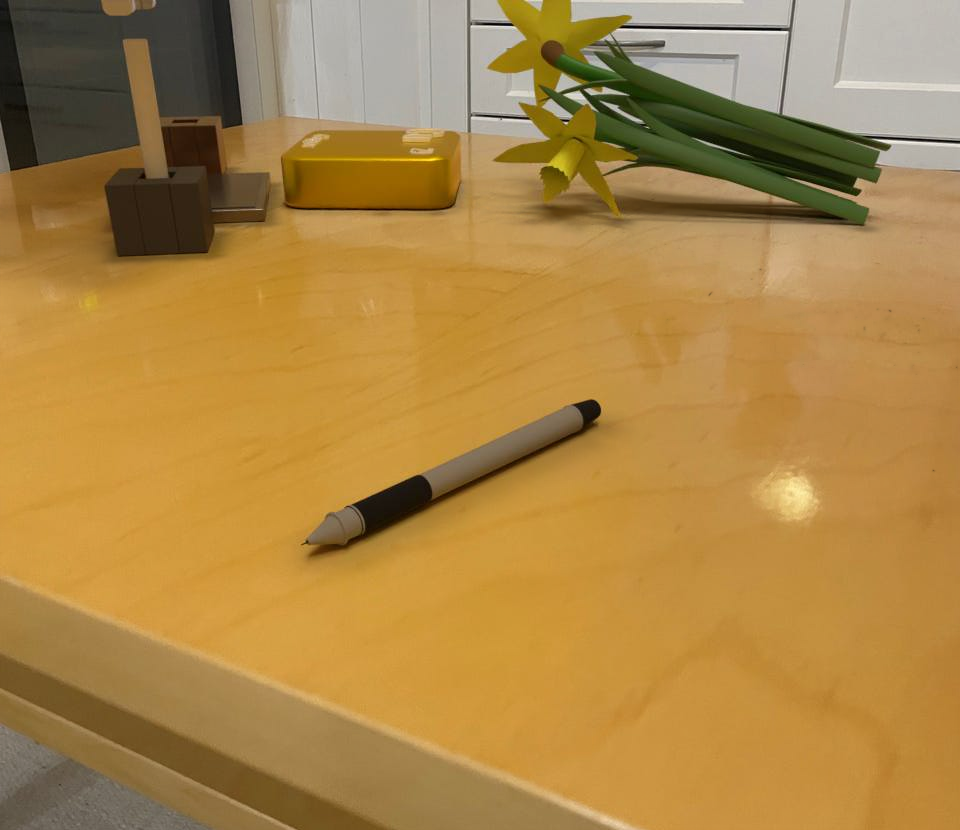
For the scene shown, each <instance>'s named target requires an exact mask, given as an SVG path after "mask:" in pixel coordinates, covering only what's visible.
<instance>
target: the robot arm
mask: <svg viewBox="0 0 960 830" xmlns="http://www.w3.org/2000/svg"><path fill="white" fill-rule="evenodd" d="M100 1H101V2H100V3H101V6H102V10H103V11H104V14H106V15H108V16H110V17H113V16H115V17H119V16H130V15H132V14H134V13H135V11H136V10H137V11H138V10H152V9H154V8H155V7H156V4H157V0H100Z"/></svg>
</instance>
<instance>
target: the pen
mask: <svg viewBox="0 0 960 830" xmlns="http://www.w3.org/2000/svg"><path fill="white" fill-rule="evenodd" d="M601 414H602V408H601V404H600V403H599V402H598V401H597V400H596V399H592V398H591V399H590V398H589V399H586V400H583V401H579V402H574V403H572V404H566V405H565V406H563V407H562V408H560V409H558V410H556V411H554V412H551V413H549V414H547V415H544V416H542V417H541V418H538V419H536V420H533V421H531V422H530V423H528V424H526V425H523V426H521V427H519V428H517V429H513V430H512V431H510V432H508V433H506V434H503V435H502V436H500V437H498V438H495V439H493V440H491V441H489V442H486V443H485V444H482V445H480V446H478V447H475V448H474V449H471V450H469V451H467V452H464V453H463V454H460V455H459V456H455V457H454V458H452V459H450V460H447V461H445V462H443V463H441V464H438V465H437V466H434V467H433V468H430V469H428V470H426V471H424V472H422V473H419V474H416V475H413V476H411V477H409V478H407V479H405V480H402V481H400V482H398V483H395V484H393V485H391V486H388V487H386V488H385V489H382V490H380V491H378V492H376V493H373V494H372V495H369V496H366V497H365V498H363V499H360V500H358V501H356V502H353V503H351V504H348V505H345V506H344V507H343V508H342V509H340V510H338V511H329V512H327V514H325V516H324V519H323V520H322V522H321V523H320V524H319V525H318V526H316V528H315V529H314V530H313V531H312V532H311V533H310V534H309V535H308V536H307V537H306V539H305V542H303V543H301V544H300V546H304V545H308V546H318V545H334V544H336V545H338V546H345V545H346V544H347V543H348V541H349V540H351V539H354V538H355V537H361V536H362V535H363V534H365V533H367V532H369V531H371V530H374V529H376V528H378V527H380V526H383V525H384V524H386V523H388V522H390V521H392V520H395V519H397V518H398V517H400V516H402V515H404V514H407V513H409V512H411V511H413V510H415V509H417V508H419V507H421V506H423V505H426V504H428V503H429V502H431V501H432V500H434V499H437V498H438V497H440V496H443V495H445V494H447V493H449V492H451V491H453V490H456V489H457V488H460V487H462V486H464V485H466V484H468V483H470V482H473V481H475V480H477V479H479V478H481V477H483V476H485V475H487V474H489V473H491V472H493V471H497V470H498V469H500V468H502V467H504V466H506V465H508V464H511V463H512V462H515V461H517V460H519V459H521V458H523V457H526V456H528V455H530V454H531V453H534V452H536V451H538V450H540V449H543V448H545V447H546V446H549V445H551V444H553V443H556V442H557V441H560V440H561V439H564V438H566V437H567V436H570V435H572V434H575V433H579V432H580V431H581V430H582V429H584V428H586V427H587V426H588V425H590V424H591V423H592V422H594V421H595V420H597V419H598V418H599V417H600V416H601Z"/></svg>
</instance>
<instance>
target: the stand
mask: <svg viewBox="0 0 960 830" xmlns="http://www.w3.org/2000/svg"><path fill="white" fill-rule="evenodd" d="M159 118H160V125H161V131H162V137H163V144H164V150H165V156H166V163H167V167H188V166H205V167H206V172H207V174H226V170H227V168H228V165H227V164H228V162H227V155H226V147H225V139H224V132H223V123H222V117H221V115H206V116H205V115H204V116H196V115H195V116H162V117H161V116H159Z"/></svg>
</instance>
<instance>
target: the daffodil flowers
mask: <svg viewBox="0 0 960 830" xmlns="http://www.w3.org/2000/svg"><path fill="white" fill-rule="evenodd" d="M496 1H497V4H498V6H499V8H500V9H501V11H502V12H503V14H504V15H505V17H506V18H507V20H508V21H509V22H510V23H511V24H512V26H514V27H515V28H516V29H517V30H518V31H519V32H520V33H521V35H522V36H523V37H524V38H525V39H524V40H521V41H519V42H517V43H516V44H514V46H512V47H510V48H509V49H507V50H506V51H504V52H502V54H500V55H498V56H497V57H496V58H495V59H494V60H493V61H492V62H490V64H488V66H487V68H486V69H487V70H490V71H493V72H497V73H502V74H518V73H523V72H526V71H530V70H532V71H533V72H532V73H533V90H534V91H533V92H534V98H535V104H536V105H535V104H529V103H525V102H522V101H521V102H520V101H517V102H518V106H519V107H520V108H521V110H522V111H523V112H524V114H525V115H526V117H528V118H529V120H530V121H531V122H532V124H534V125H535V127H536V128H537V129H538V130H539V131H540V132H541V134H543V136H544V137H546V138H548V139H547V140H546V139H545V140H543V141H535V142H528V143H522V144H521V143H520V144H518V145H516V146H513V147H510V148H508V149H506V150H505V151H504V152H502V153H500V154H499V155H498V156H496V157H495V158H494V159H492V162H494V163H501V164H503V163H505V164H545V165H543V167H541V168H540V169H539V171H540V172H539V173H538V175H540V177H539V180H540V181H543V182H542V185H543V186H544V187H543V190H542V202H543V204H547V203H549V202H550V201H551V200H552V199H554V198H556V196H558V195H559V194H561V193H563V192H564V193H566V192H567V191H569V189H570V186H571V183H572V181H573V180H574V179H575V178H576V177H577V175H578V174H579V175H580V176H581V178H582V179H583V180H584V181H585V183H586V184H587V185H588V186H589V187H590V188H591V189H592V190H593V191H594V192H595V194H597V195H598V196H599V197H600V199H602V200H603V201H604V202H605V203H606V204H607V205H608V206H609V208H610V210H611V212H612V213H613V215H614V216H616V217H617V219H620V220H622V216H621V213H620V211H619V208H618V206H617V203H616V200H615V198H614V196H613V194H612V191H611V189H610V187H609V185H608V183H607V181H606V179H605V177H606V176H609V175H612V174H615V173H618V172H622V171H625V170H629V169H636V168H644V167H646V168H647V167H648V168H651V167H654V168H662V169H663V168H664V169H669V170H675V171H681V172H683V173H684V172H685V173H690V174H695V175H699V176H703V177H708V178H714V179H718V180H721V181H722V180H723V181H727V182H730V183H732V184H736V185H739V186H742V187H745V188H748V189H752V190H754V191H758V192H760V193H763V194H767V195H771V196H774V197H776V198H779V199H783V200H786V201H789V202H792V203H796V204H798V205H801V206H804V207H808V208H811V209H814V210H817V211H821V212H823V213H826V214H828V215H829V214H830V215H833V216H835V217H838V218H842V219H845V220H849V221H851V222H854V223H857V224H860V225H862V226H864V225H865V223H866V221H867V218H868V215H869V212H870V207H867V206H864V205H861V204H858V203H857V201H853V200H852V199H849V198H846V197H843V196H839V195H837V194H834V193H831V192H828V191H826V190H823V189H820V188H817V187H815V186H811V185H808V184H805V183H809V184H812V185H816V186H819V187H822V188H825V189H829V190H833V191H837V192H840V193H843V194H847V195H850V196H853V197H858V196H859V195H860V194H861V193H862V191H863V189H861V188H857V187H855V184H856V183H857V180H858V179H860V180H863V181H866V182H869V183H873V184H877V183H878V181H879V179H880V176H881V174H882V172H883V168H882V167H879V166H878V167H877V166H876V164H877V162H878V159H879V157H880V154H881V151H883V152H887V151H889V150H890V149H891V148H892V144H890V143H887V142H883V141H881V140H876V139H872V138H869V137H865V136H862V135H859V134H857V133H852V132H849V131H846V130H845V131H844V130H842V129H838V128H835V127H831V126H828V125H825V124H821V123H816V122H813V121H809V120H805V119H801V118H797V117H794V116H790V115H786V114H783V113H782V114H781V113H778V112H774V111H770V110H765V109H763V108H759V107H754V106H750V105H746V104H743V103H740V102H738V101H735V100H732V99H729V98H726V97H723V96H720V95H718V94H715V93H713V92H709V91H707V90H704V89H702V88H699V87H695V86H694V85H690V84H689V83H685V82H683V81H680V80H677V79H675V78H672V77H670V76H667V75H665V74H661V73H659V72H656V71H654V70H651V69H648V68H645V67H643V66H640V65H637V64H635V63H634V62H633V61H632V59H631V58H630V57H629V56H628V55H627V53H626V52H625V51H624V50H623V48H622V47H621V44H619V42H618V40H617V39H616V38H615V36H614V35H613V34H612V33H614V32H615V31H616V30H618V29H619V28H621V27H622V26H624V25H625V24H627V23H628V22H630V21H632V19H633V16H632V15H630V14H621V15H620V14H619V15H615V16H601V17H594V18H587V19H581V20H576V21H573V22H572V18H573V17H572V16H573V14H572V0H542V3H541V7H540V9H538V8H536V7H535V6H534V5H532V4H531V3H529V2H528V1H526V0H496ZM609 35H610V36H611V38H612V40H613V42H614V43H615V45H616V46H617V48H618V49H617V48H616V47H615V45H613V44H612V43H611V42H610V41H608V40H607V39H606V37H607V36H609ZM600 40H604V42H605V43H606V46H607V47H608V49H609V50H610V51H611V53H612V54H613V55H610V54H608V53H605V52H602V51H596V50H594V51H593V54H594V55H595V56H596V57H597V58H598V59H599V60H600V61H601V62H602V63H603V64H604V65H605V66H607V67H608V68H609V69H610V70H609V69H606V68H602V67H600V66H597V65H593V64H590V62H589V61H588V59H587V58H586V56H585V55H584V53H583V52H582V51H581V50H583V49H585V48H587V47H589V46H591V45H592V44H594V43H597V42H598V41H600ZM562 74H563V75H565V76H566V77H568V78H570V79H571V80H573V81H574V82H576V83H577V84H579V85H574V86H572V87H568V88H565V89H563V90H561V91H559V92H558V91H556V89H557V87H558V84H559V81H560V79H561V77H562ZM603 88H606V89H610V90H613V91H615V92H618V94H617V93H615V94H614V93H603ZM589 89H591V90H593V91H595V92H598V93H596V94H590V93H589V92H588V91H586V90H589ZM575 92H579V93H580V94H581V95H582V96H583V98H585V100H586V101H587V102H588V103H585V104H582V103H580V102H578V101H576V100H574V99H572V98H570V97H568V96H567V95H566V94H570V93H571V94H572V93H575ZM619 93H622V94H619ZM550 100H552V101H553V102H554V103H555V104H556V105H558V106H559V107H560V108H561V109H563V110H564V111H566V112H567V113H569V114H570V115H571V118H570V119H569V120H568V122H567V123H565V122H564V121H563V120H561V118H560V117H558V116H557V115H556V114H554V113H553V112H552V111H550V110H548V109H546V108H543V106H545V105H546V104H547V103H548V101H550ZM605 103H606V104H609V105H613V106H617V109H618V110H619V111H621V112H623V113H625V114H627V115H628V116H631V117H633V118H635V119H638V120H639V121H641V122H642V123H644V125H645V126H644V125H642V124H641V123H639V122H637V121H635V120H633V119H630V118H628V117H627V116H626V115H623V114H621V113H620V112H618V111H616V110H614V109H612V108H611V107H609V106H608V105H606V104H605ZM591 106H592V107H593V108H594V109H593V108H592V107H591ZM706 143H708V144H706ZM709 144H711V145H709ZM614 145H615V146H614ZM713 145H715V146H713ZM616 146H618V147H616ZM716 146H718V147H716ZM597 162H600V163H610V162H630V163H628V164H626V165H622V166H620V167H618V168H613V169H612V170H610V171H607V172H606V173H603V174H602V171H601V169H600V168H599V166H598V164H597ZM800 181H801V182H800ZM802 182H804V183H802Z"/></svg>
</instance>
